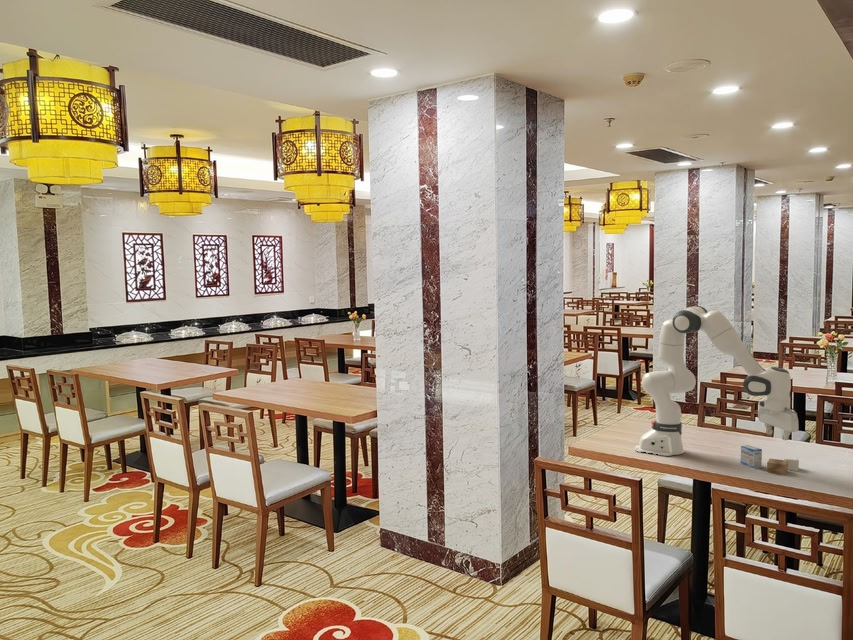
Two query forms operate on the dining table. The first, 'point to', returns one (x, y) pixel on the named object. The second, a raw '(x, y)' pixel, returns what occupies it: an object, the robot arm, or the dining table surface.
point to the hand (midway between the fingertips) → (777, 437)
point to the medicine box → (751, 456)
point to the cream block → (792, 463)
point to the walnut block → (777, 466)
